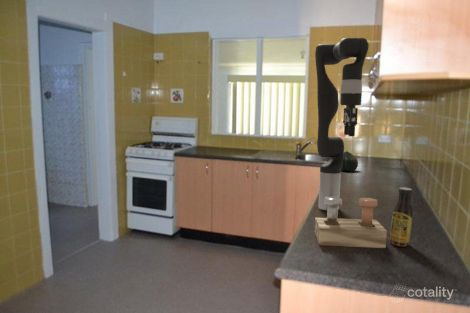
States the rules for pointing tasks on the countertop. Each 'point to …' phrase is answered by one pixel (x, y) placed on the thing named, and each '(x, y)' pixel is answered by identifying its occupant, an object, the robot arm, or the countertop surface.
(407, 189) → the sauce bottle
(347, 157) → the squash
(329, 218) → the grey peg
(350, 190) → the countertop surface
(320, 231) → the beech block
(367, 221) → the terracotta peg
